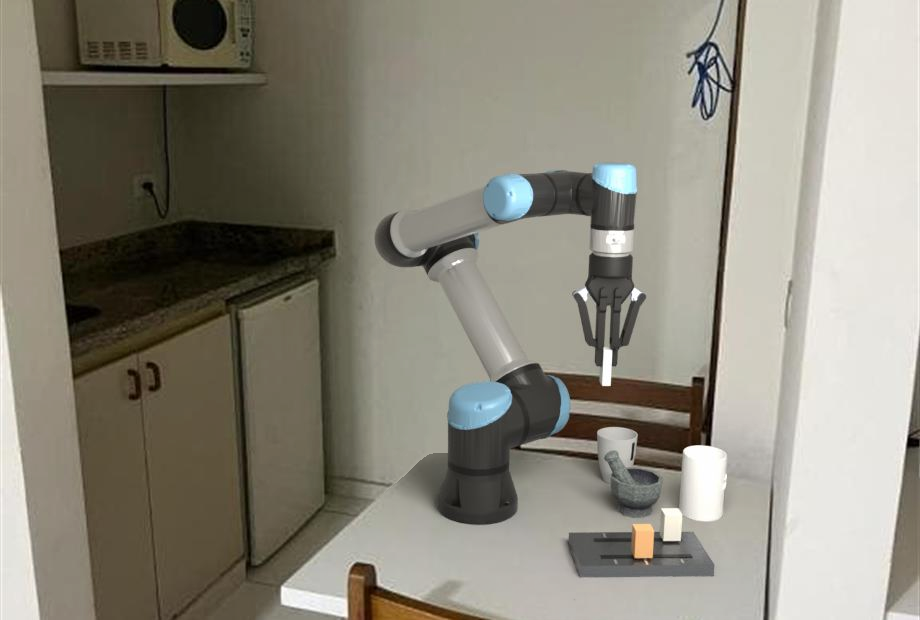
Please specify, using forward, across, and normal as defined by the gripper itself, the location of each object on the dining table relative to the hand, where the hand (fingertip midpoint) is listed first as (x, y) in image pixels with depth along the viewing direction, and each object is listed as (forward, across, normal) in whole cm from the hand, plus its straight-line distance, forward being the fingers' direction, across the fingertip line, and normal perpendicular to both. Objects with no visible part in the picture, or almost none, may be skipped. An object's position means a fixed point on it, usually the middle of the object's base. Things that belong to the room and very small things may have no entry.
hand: (604, 383), depth 165 cm
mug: (+27, +20, +5) cm, 34 cm away
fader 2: (+24, +10, -12) cm, 29 cm away
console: (+26, +4, -15) cm, 31 cm away
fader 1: (+24, +4, -18) cm, 30 cm away
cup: (+27, +7, +19) cm, 33 cm away
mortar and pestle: (+27, +7, +4) cm, 28 cm away
